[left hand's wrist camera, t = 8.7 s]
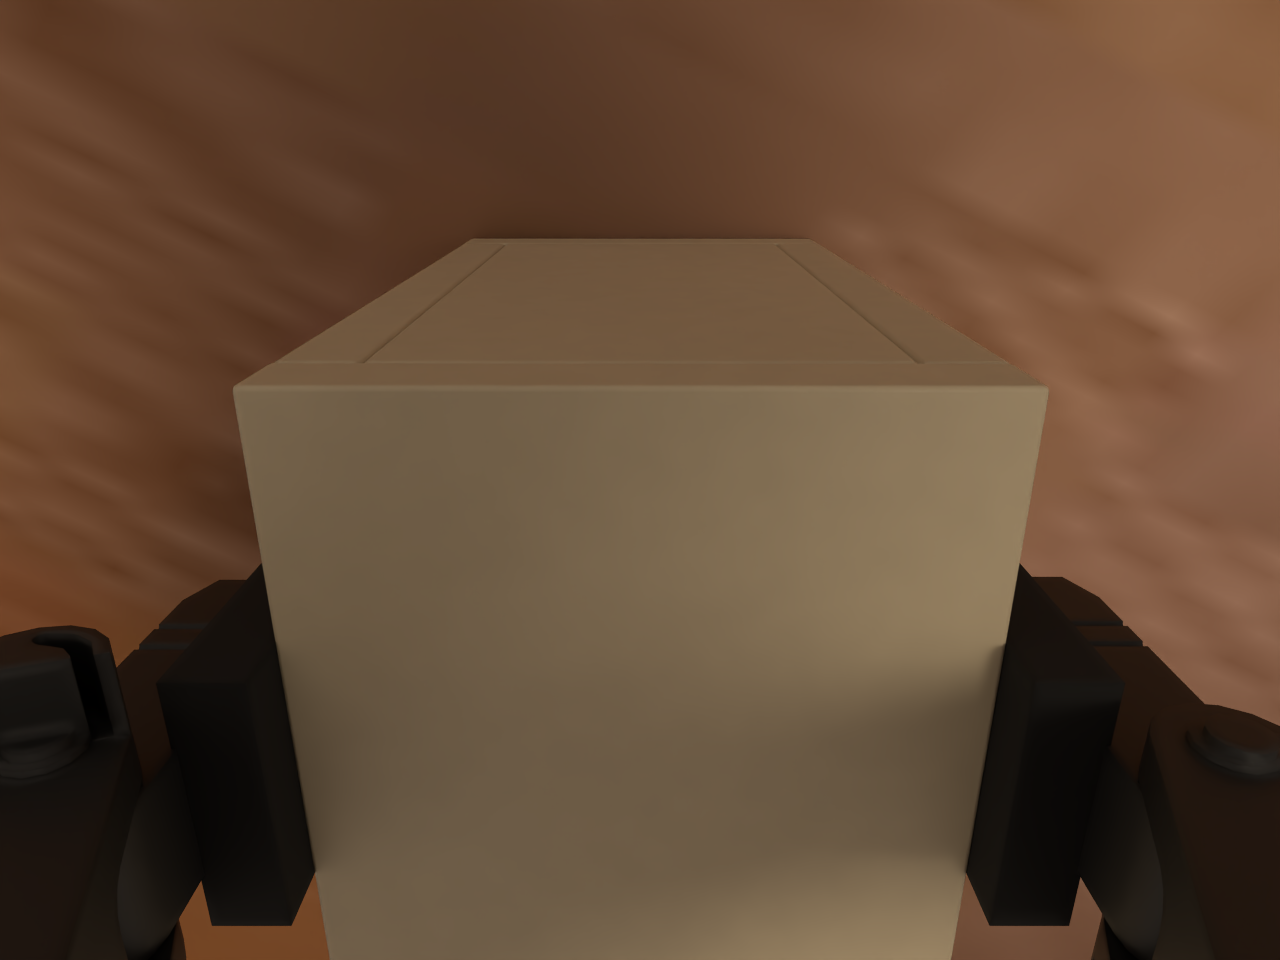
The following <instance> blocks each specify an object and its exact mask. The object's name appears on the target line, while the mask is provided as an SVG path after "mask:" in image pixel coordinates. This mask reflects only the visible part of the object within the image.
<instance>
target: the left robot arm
mask: <svg viewBox="0 0 1280 960" xmlns="http://www.w3.org/2000/svg"><path fill="white" fill-rule="evenodd" d="M1142 642H1143V641H1142V640H1141V639H1140V638H1139V637H1138V636H1137V635H1136V634H1135V633H1134V632H1133V631H1132V630H1131V629H1130V628H1129V627H1128V626H1123V621H1122V620H1121V619H1120V618H1119V617H1118V616H1117V615H1116V614H1115V613H1114V612H1113V611H1112V610H1111V609H1110V608H1109V607H1108V606H1107V605H1106V604H1105V603H1104V602H1103V601H1102V600H1101V599H1100V598H1099V597H1098V596H1096V595H1094V594H1092V593H1090V592H1088V591H1087V590H1085V589H1083V588H1081V587H1079V586H1078V585H1076V584H1074V583H1072V582H1070V581H1068V580H1067V579H1065V578H1063V577H1031V575H1030V574H1029V573H1028V572H1027V571H1026V570H1025V569H1024V568H1023V566H1022V565H1021V564H1020V563H1019V569H1018V574H1017V580H1016V586H1015V592H1014V598H1013V603H1012V609H1011V615H1010V621H1009V626H1008V632H1007V638H1006V644H1005V650H1004V655H1003V661H1002V667H1001V673H1000V679H999V684H998V690H997V696H996V702H995V708H994V713H993V719H992V725H991V731H990V737H989V742H988V748H987V754H986V760H985V765H984V771H983V777H982V783H981V789H980V794H979V800H978V806H977V812H976V818H975V823H974V829H973V835H972V841H971V847H970V852H969V858H968V864H967V870H966V873H967V875H968V878H969V880H970V882H971V885H972V887H973V889H974V891H975V894H976V896H977V898H978V900H979V903H980V905H981V907H982V909H983V912H984V914H985V916H986V919H987V921H988V923H989V925H990V926H1069V924H1070V919H1071V915H1072V911H1073V907H1074V902H1075V898H1076V894H1077V889H1078V885H1079V881H1080V877H1081V878H1082V880H1083V882H1084V884H1085V885H1086V887H1087V889H1088V890H1089V892H1090V894H1091V895H1092V897H1093V899H1094V900H1095V902H1096V904H1097V905H1098V907H1099V909H1100V911H1101V912H1102V918H1101V922H1100V926H1099V930H1098V934H1097V938H1096V942H1095V946H1094V950H1093V954H1092V958H1091V960H1280V726H1278V725H1276V724H1274V723H1271V722H1269V721H1267V720H1264V719H1262V718H1260V717H1258V716H1255V715H1253V714H1250V713H1246V712H1242V711H1238V710H1234V709H1231V708H1227V707H1223V706H1219V705H1207V704H1204V703H1203V702H1202V701H1201V700H1200V699H1199V698H1198V697H1197V696H1196V695H1195V694H1194V693H1193V692H1192V691H1191V690H1190V689H1189V688H1188V687H1187V686H1186V685H1185V684H1184V683H1183V682H1182V681H1181V680H1180V679H1179V678H1178V677H1177V676H1176V675H1175V674H1174V673H1173V672H1172V671H1171V670H1170V669H1169V668H1168V666H1167V665H1166V664H1165V663H1164V662H1163V661H1162V660H1161V659H1160V658H1159V657H1158V656H1157V655H1156V654H1155V653H1154V652H1153V651H1152V650H1151V649H1150V648H1149V647H1148V646H1143V644H1142ZM139 645H140V647H139V650H134V651H133V652H132V653H131V654H130V655H129V656H128V657H127V658H126V659H125V660H124V661H123V662H122V663H121V664H120V665H119V666H118V667H117V668H116V665H115V661H114V657H113V653H112V649H111V645H110V641H109V638H108V637H106V636H105V635H103V634H102V633H100V632H99V631H97V630H96V629H91V628H84V627H78V626H71V625H70V626H56V627H41V628H36V629H31V630H27V631H22V632H18V633H13V634H9V635H4V636H2V637H0V960H186V952H185V945H184V938H183V934H182V930H181V926H180V922H179V917H180V916H181V914H182V912H183V910H184V909H185V907H186V905H187V904H188V902H189V900H190V899H191V897H192V895H193V893H194V892H195V890H196V888H197V887H198V885H199V883H200V882H201V880H202V885H203V889H204V893H205V898H206V902H207V906H208V911H209V915H210V919H211V924H212V926H291V925H292V923H293V921H294V919H295V916H296V914H297V912H298V910H299V907H300V905H301V903H302V901H303V898H304V896H305V894H306V891H307V889H308V887H309V885H310V882H311V880H312V878H313V876H314V873H315V869H314V863H313V858H312V852H311V846H310V840H309V834H308V828H307V822H306V817H305V811H304V805H303V799H302V793H301V787H300V782H299V776H298V770H297V764H296V758H295V752H294V747H293V741H292V735H291V729H290V723H289V717H288V712H287V706H286V700H285V694H284V688H283V682H282V677H281V671H280V665H279V659H278V653H277V647H276V641H275V636H274V630H273V624H272V618H271V612H270V606H269V601H268V595H267V589H266V583H265V577H264V571H263V566H262V563H261V564H260V565H259V567H258V568H257V569H256V570H255V571H254V572H253V573H252V575H251V576H250V577H249V578H248V579H247V580H219V581H217V582H215V583H213V584H211V585H210V586H208V587H206V588H204V589H202V590H201V591H199V592H197V593H195V594H193V595H192V596H190V597H188V598H186V599H184V600H183V601H182V602H181V603H180V604H179V605H178V606H177V607H176V608H175V609H174V610H173V611H172V612H171V613H170V614H169V615H168V616H167V617H166V618H165V619H164V620H163V621H162V622H161V623H160V624H159V629H154V630H153V631H152V632H151V633H150V634H149V635H148V636H147V637H146V638H145V639H144V640H143V641H142V642H141V643H140V644H139Z"/></svg>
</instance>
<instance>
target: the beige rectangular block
mask: <svg viewBox="0 0 1280 960" xmlns="http://www.w3.org/2000/svg"><path fill="white" fill-rule="evenodd" d="M1048 395H1049V389H1048V386H1046V385H1044V384H1043V383H1041V382H1040V381H1038V380H1036V379H1035V378H1033V377H1032V376H1030V375H1028V374H1027V373H1025V372H1024V371H1022V370H1020V369H1019V368H1017V367H1016V366H1014V365H1012V364H1009V363H1008V362H1007V361H1005V360H1004V359H1002V358H1000V357H999V356H997V355H996V354H994V353H992V352H991V351H989V350H988V349H986V348H984V347H983V346H981V345H980V344H978V343H976V342H975V341H973V340H971V339H970V338H968V337H967V336H965V335H963V334H962V333H960V332H959V331H957V330H955V329H954V328H952V327H951V326H949V325H947V324H946V323H944V322H943V321H941V320H939V319H938V318H936V317H935V316H933V315H931V314H930V313H928V312H927V311H925V310H923V309H922V308H920V307H919V306H917V305H915V304H914V303H912V302H911V301H909V300H907V299H906V298H904V297H903V296H901V295H899V294H898V293H896V292H895V291H893V290H891V289H890V288H888V287H887V286H885V285H883V284H882V283H880V282H879V281H877V280H875V279H874V278H872V277H871V276H869V275H867V274H866V273H864V272H863V271H861V270H859V269H858V268H856V267H854V266H853V265H851V264H850V263H848V262H846V261H845V260H843V259H842V258H840V257H838V256H837V255H835V254H834V253H832V252H830V251H829V250H827V249H826V248H824V247H822V246H821V245H819V244H818V243H816V242H814V241H813V240H811V239H471V240H469V241H467V242H466V243H464V244H463V245H462V246H460V247H458V248H457V249H455V250H454V251H452V252H450V253H449V254H447V255H446V256H444V257H442V258H441V259H439V260H438V261H436V262H434V263H433V264H431V265H430V266H428V267H426V268H425V269H423V270H422V271H420V272H418V273H417V274H415V275H414V276H412V277H410V278H409V279H407V280H406V281H404V282H402V283H401V284H399V285H397V286H396V287H394V288H393V289H391V290H389V291H388V292H386V293H385V294H383V295H381V296H380V297H378V298H377V299H375V300H373V301H372V302H370V303H369V304H367V305H365V306H364V307H362V308H361V309H359V310H357V311H356V312H354V313H353V314H351V315H349V316H348V317H346V318H345V319H343V320H341V321H340V322H338V323H337V324H335V325H333V326H332V327H330V328H329V329H327V330H325V331H324V332H322V333H320V334H319V335H317V336H316V337H314V338H312V339H311V340H309V341H308V342H306V343H304V344H303V345H301V346H300V347H298V348H296V349H295V350H293V351H292V352H290V353H288V354H287V355H285V356H284V357H282V358H280V359H279V360H277V361H276V362H274V363H271V364H269V365H267V366H265V367H264V368H262V369H261V370H259V371H257V372H256V373H254V374H253V375H251V376H249V377H248V378H246V379H244V380H243V381H241V382H240V383H238V384H236V385H235V386H234V387H233V396H234V402H235V408H236V414H237V420H238V425H239V431H240V437H241V443H242V449H243V455H244V460H245V466H246V472H247V478H248V484H249V490H250V496H251V501H252V507H253V513H254V519H255V525H256V531H257V536H258V542H259V548H260V554H261V560H262V566H263V571H264V577H265V583H266V589H267V595H268V601H269V606H270V612H271V618H272V624H273V630H274V636H275V641H276V647H277V653H278V659H279V665H280V671H281V677H282V682H283V688H284V694H285V700H286V706H287V712H288V717H289V723H290V729H291V735H292V741H293V747H294V752H295V758H296V764H297V770H298V776H299V782H300V787H301V793H302V799H303V805H304V811H305V817H306V822H307V828H308V834H309V840H310V846H311V852H312V858H313V863H314V869H315V875H316V881H317V887H318V893H319V898H320V904H321V910H322V916H323V922H324V928H325V933H326V939H327V945H328V951H329V957H330V960H951V957H952V951H953V945H954V939H955V933H956V928H957V922H958V916H959V910H960V904H961V899H962V893H963V887H964V881H965V876H966V870H967V864H968V858H969V852H970V847H971V841H972V835H973V829H974V823H975V818H976V812H977V806H978V800H979V794H980V789H981V783H982V777H983V771H984V765H985V760H986V754H987V748H988V742H989V737H990V731H991V725H992V719H993V713H994V708H995V702H996V696H997V690H998V684H999V679H1000V673H1001V667H1002V661H1003V655H1004V650H1005V644H1006V638H1007V632H1008V626H1009V621H1010V615H1011V609H1012V603H1013V598H1014V592H1015V586H1016V580H1017V574H1018V569H1019V563H1020V557H1021V551H1022V545H1023V540H1024V534H1025V528H1026V522H1027V516H1028V511H1029V505H1030V499H1031V493H1032V487H1033V482H1034V476H1035V470H1036V464H1037V459H1038V453H1039V447H1040V441H1041V435H1042V430H1043V424H1044V418H1045V412H1046V406H1047V401H1048Z"/></svg>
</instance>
